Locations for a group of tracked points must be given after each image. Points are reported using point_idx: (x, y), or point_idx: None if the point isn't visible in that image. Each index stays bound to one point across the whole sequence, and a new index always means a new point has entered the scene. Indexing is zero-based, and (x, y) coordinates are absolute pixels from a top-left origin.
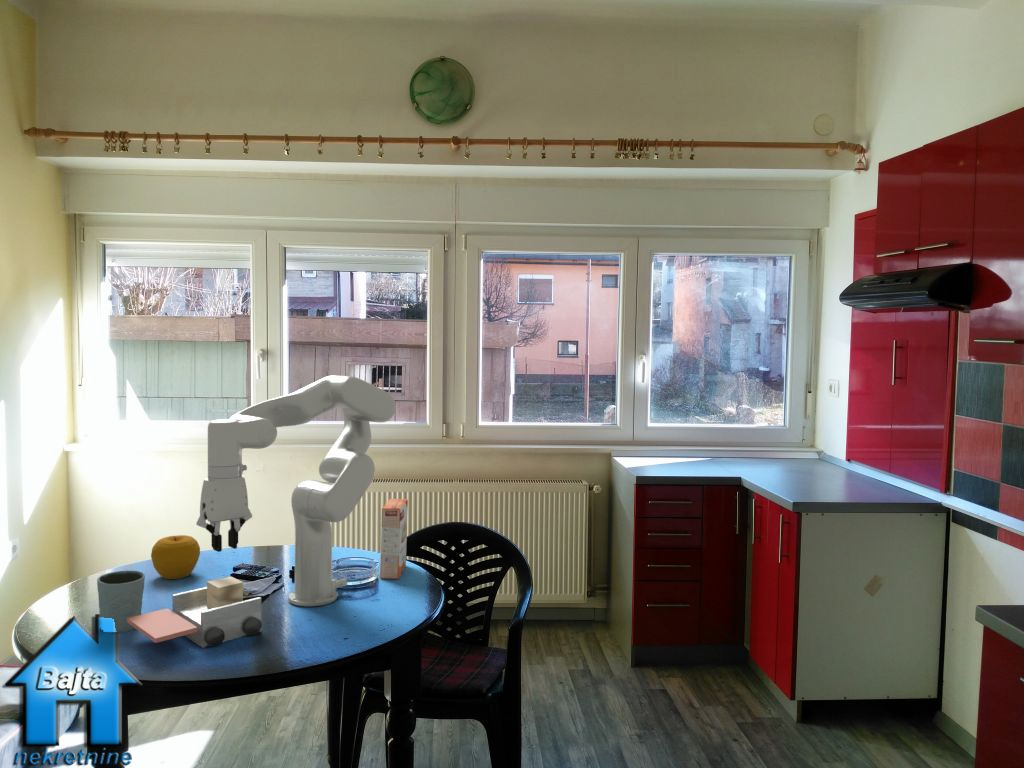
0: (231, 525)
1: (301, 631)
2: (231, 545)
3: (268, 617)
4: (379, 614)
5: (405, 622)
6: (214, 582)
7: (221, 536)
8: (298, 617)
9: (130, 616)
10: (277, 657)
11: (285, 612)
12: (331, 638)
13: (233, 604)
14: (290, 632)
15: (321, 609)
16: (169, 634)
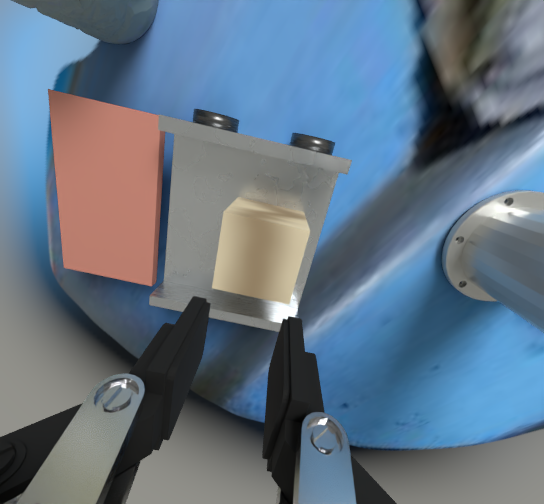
0: (297, 468)
1: (331, 343)
2: (274, 355)
3: (356, 251)
4: (461, 391)
5: (442, 432)
6: (234, 239)
7: (168, 435)
8: (385, 297)
9: (92, 30)
10: (236, 377)
11: (397, 258)
12: (333, 391)
13: (227, 318)
14: (318, 333)
15: (444, 302)
16: (93, 272)
